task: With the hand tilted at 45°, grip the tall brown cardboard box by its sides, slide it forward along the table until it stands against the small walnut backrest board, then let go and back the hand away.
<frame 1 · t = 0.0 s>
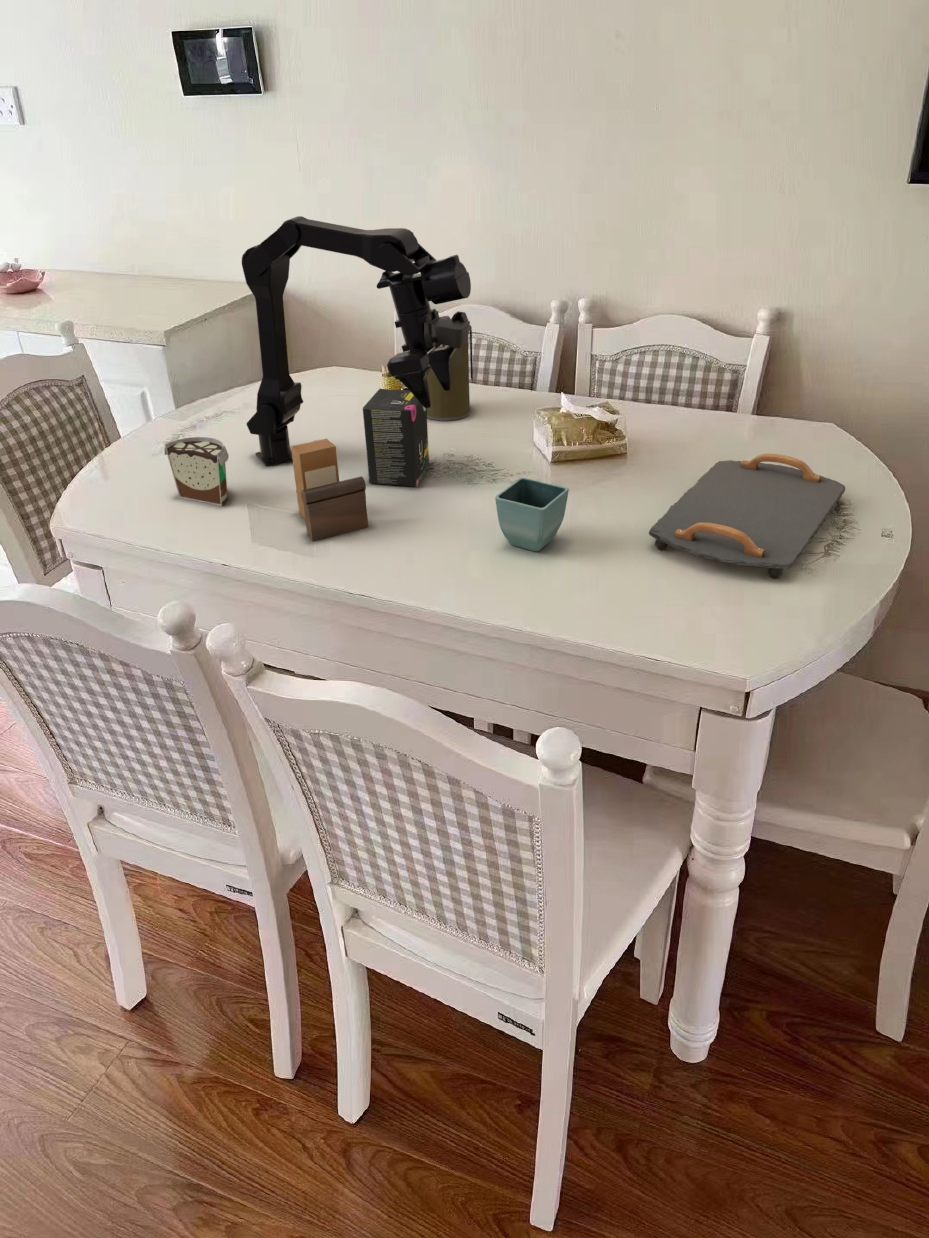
hand: (438, 398, 169), 15 cm above the table, tool pointing down, fingers open, 9 cm apart
backrest: (338, 531, 160), on the table
cardboard box: (321, 514, 166), on the table
flower pot: (531, 544, 155), on the table
canister: (447, 413, 207), on the table
serving tray: (748, 523, 160), on the table
food container: (211, 496, 174), on the table
tampon box: (400, 475, 180), on the table
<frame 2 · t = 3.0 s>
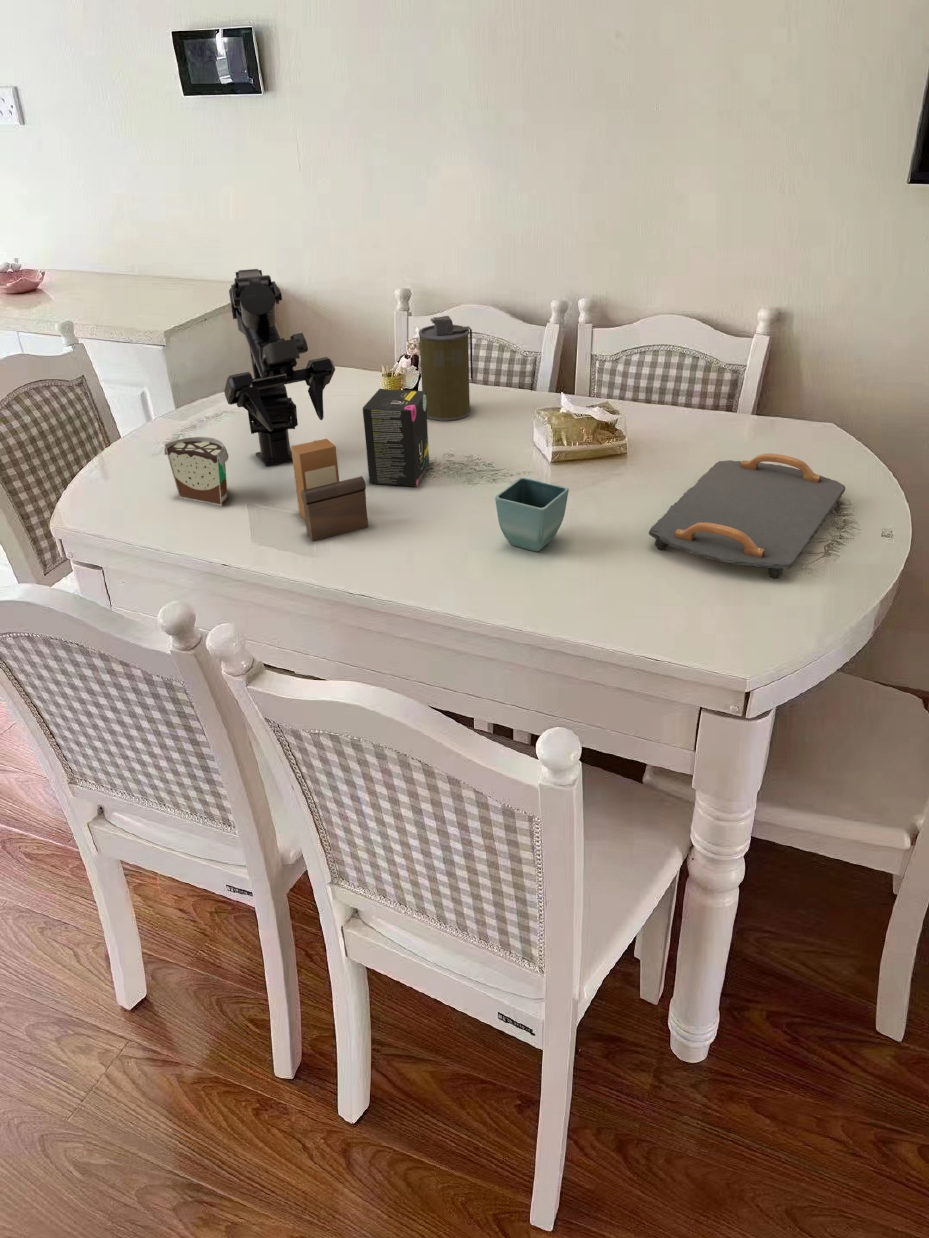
hand: (297, 424, 165), 14 cm above the table, tool tilted 45°, fingers open, 9 cm apart
nothing on the table moved.
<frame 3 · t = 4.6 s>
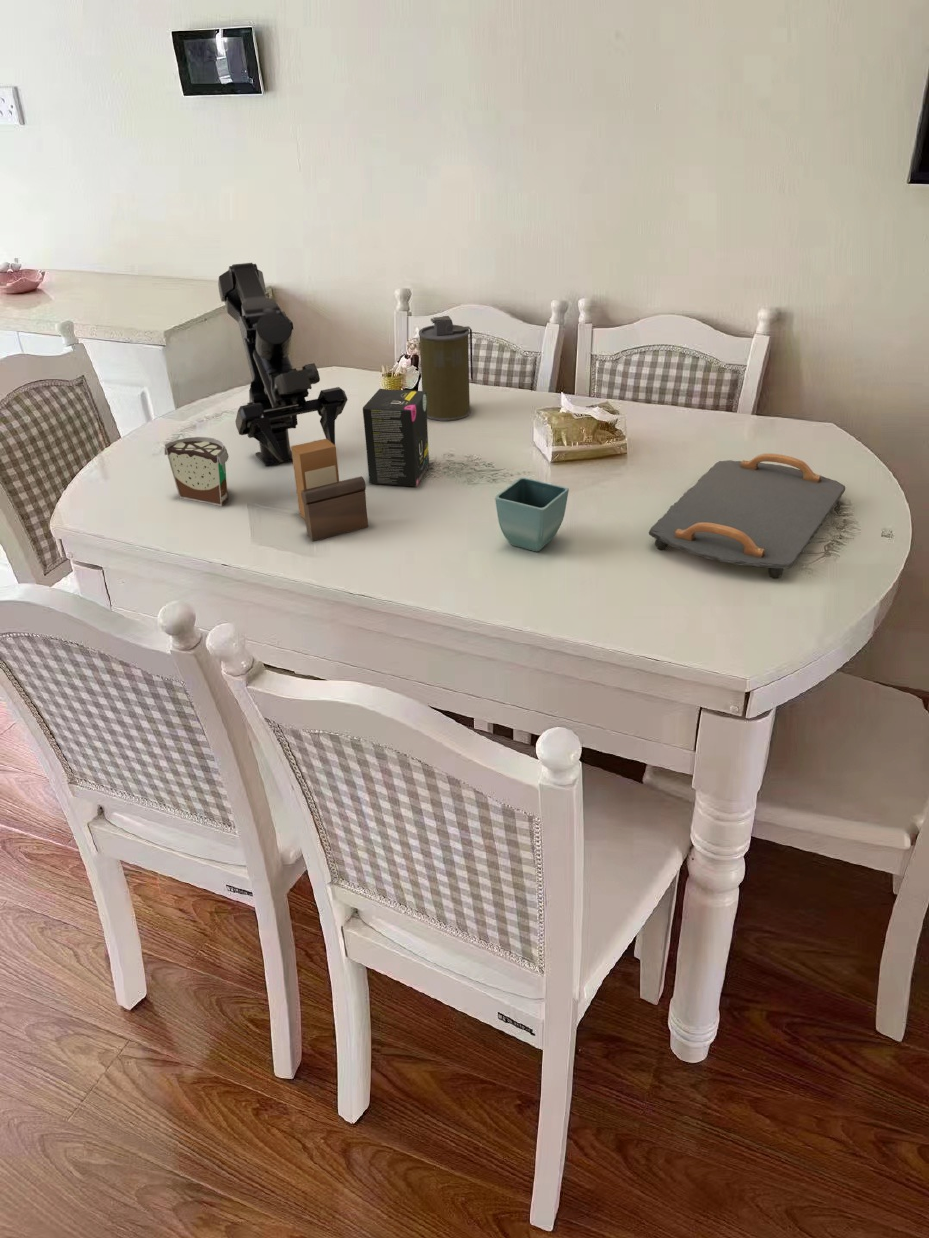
hand: (308, 455, 163), 10 cm above the table, tool tilted 45°, fingers open, 9 cm apart
nothing on the table moved.
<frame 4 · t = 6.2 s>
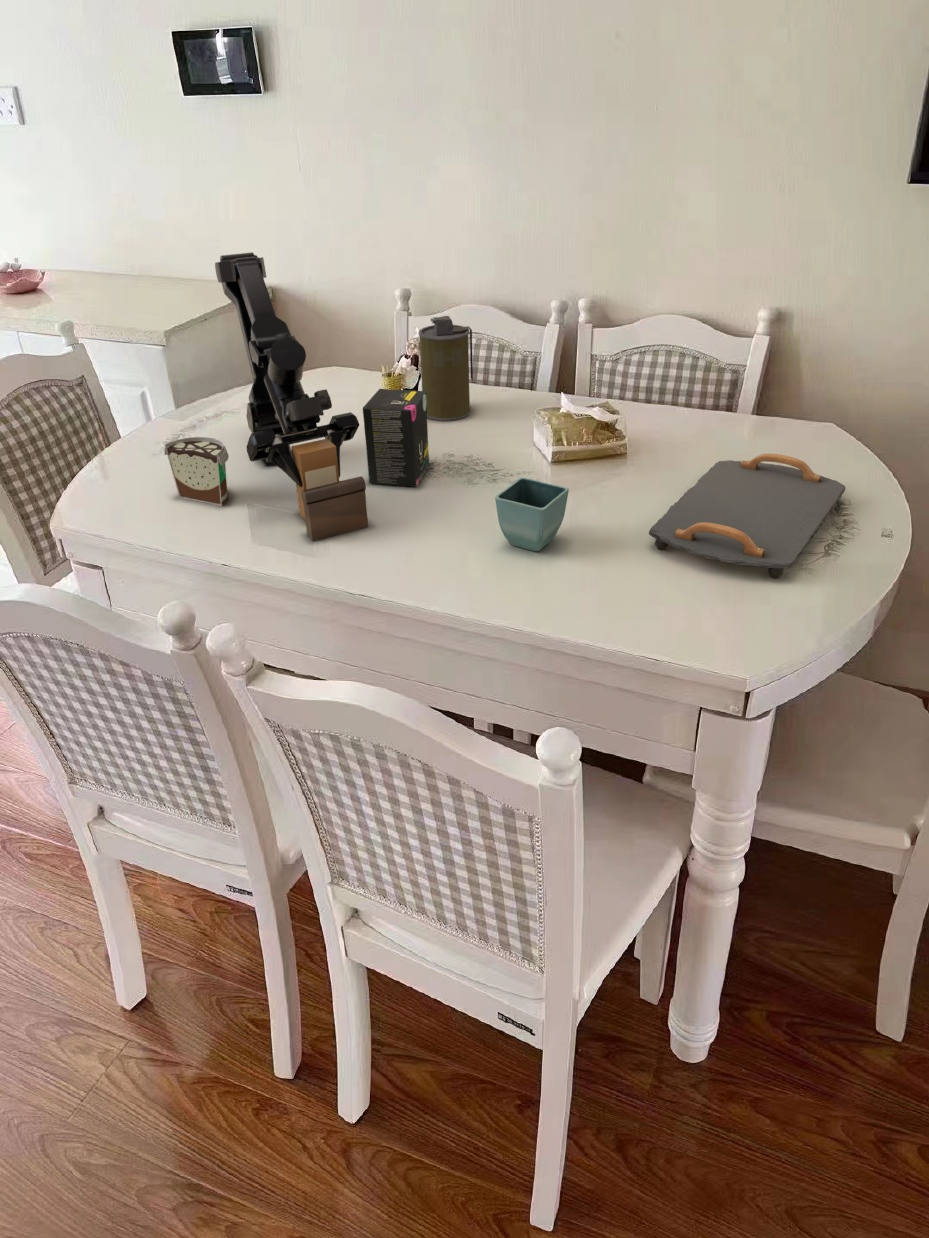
hand: (320, 481, 161), 7 cm above the table, tool tilted 45°, fingers closed on cardboard box, 6 cm apart
cardboard box: (321, 514, 166), on the table, touching gripper
everything else where it was.
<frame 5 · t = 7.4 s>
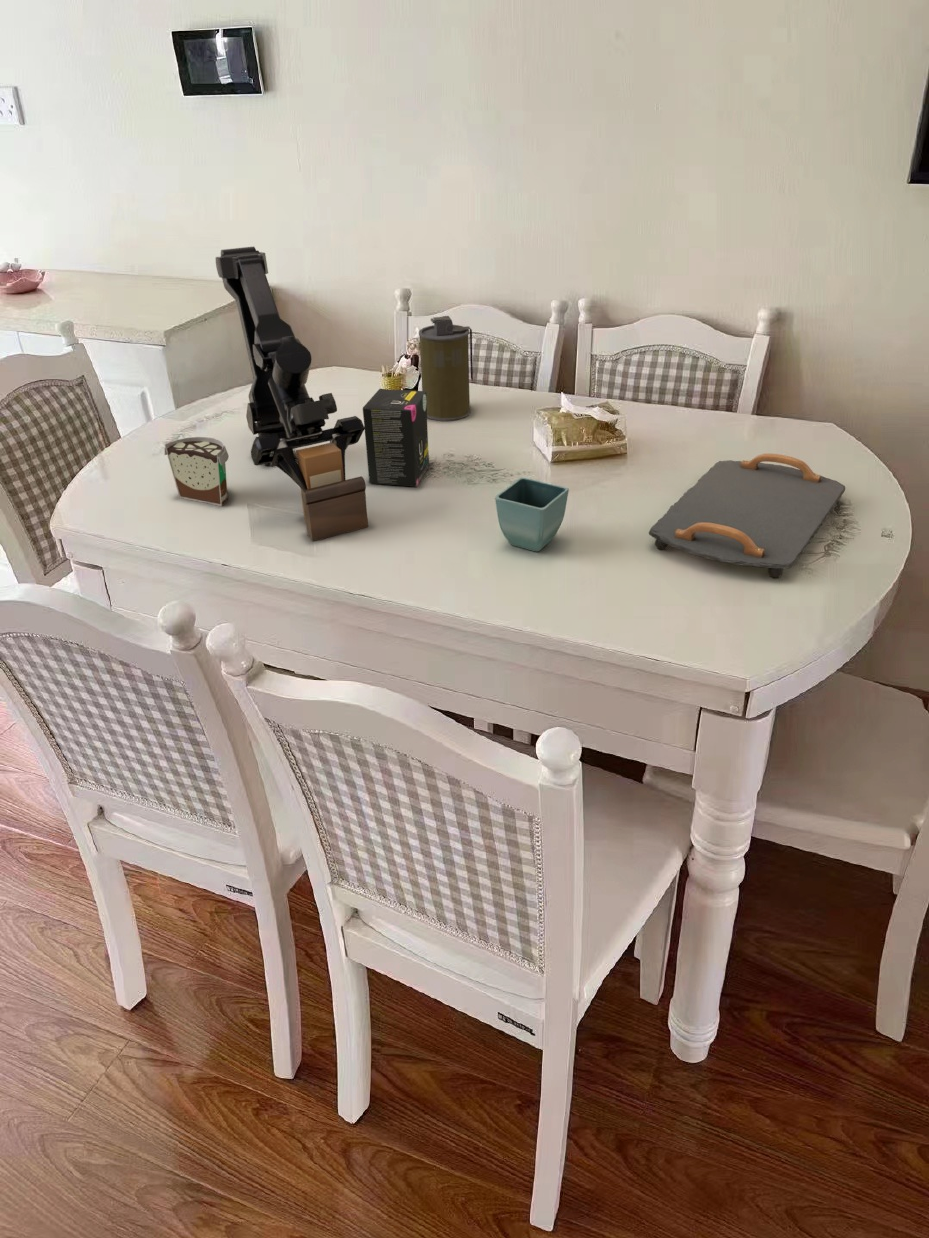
hand: (325, 486, 160), 7 cm above the table, tool tilted 45°, fingers closed on cardboard box, 6 cm apart
cardboard box: (326, 519, 164), on the table, touching gripper
everything else where it was.
when the fingers open (7 cm above the table, at t = 8.6 s): cardboard box stays where it is, on the table.
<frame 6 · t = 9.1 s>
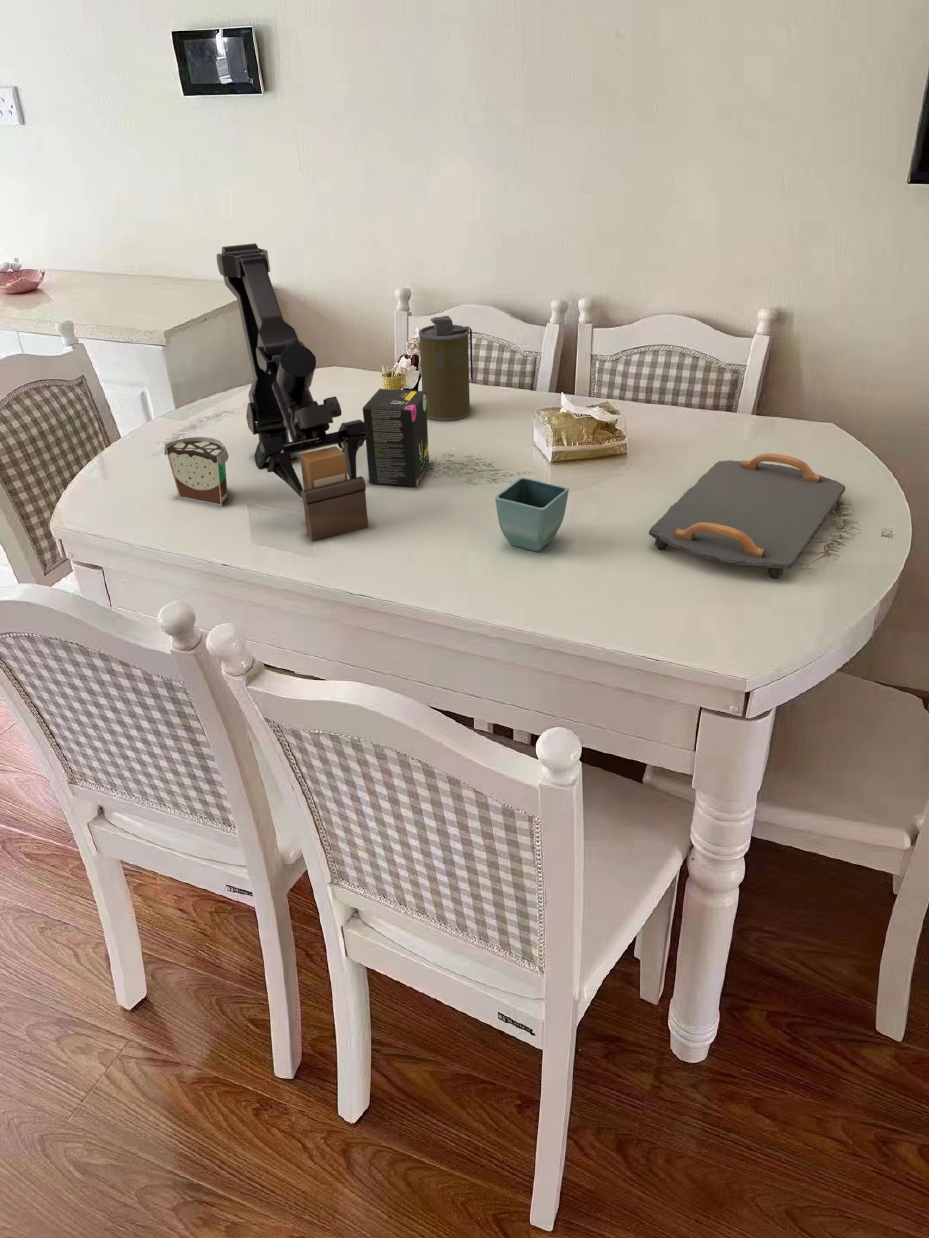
hand: (329, 490, 159), 7 cm above the table, tool tilted 45°, fingers open, 9 cm apart
cardboard box: (330, 523, 163), on the table
everything else where it was.
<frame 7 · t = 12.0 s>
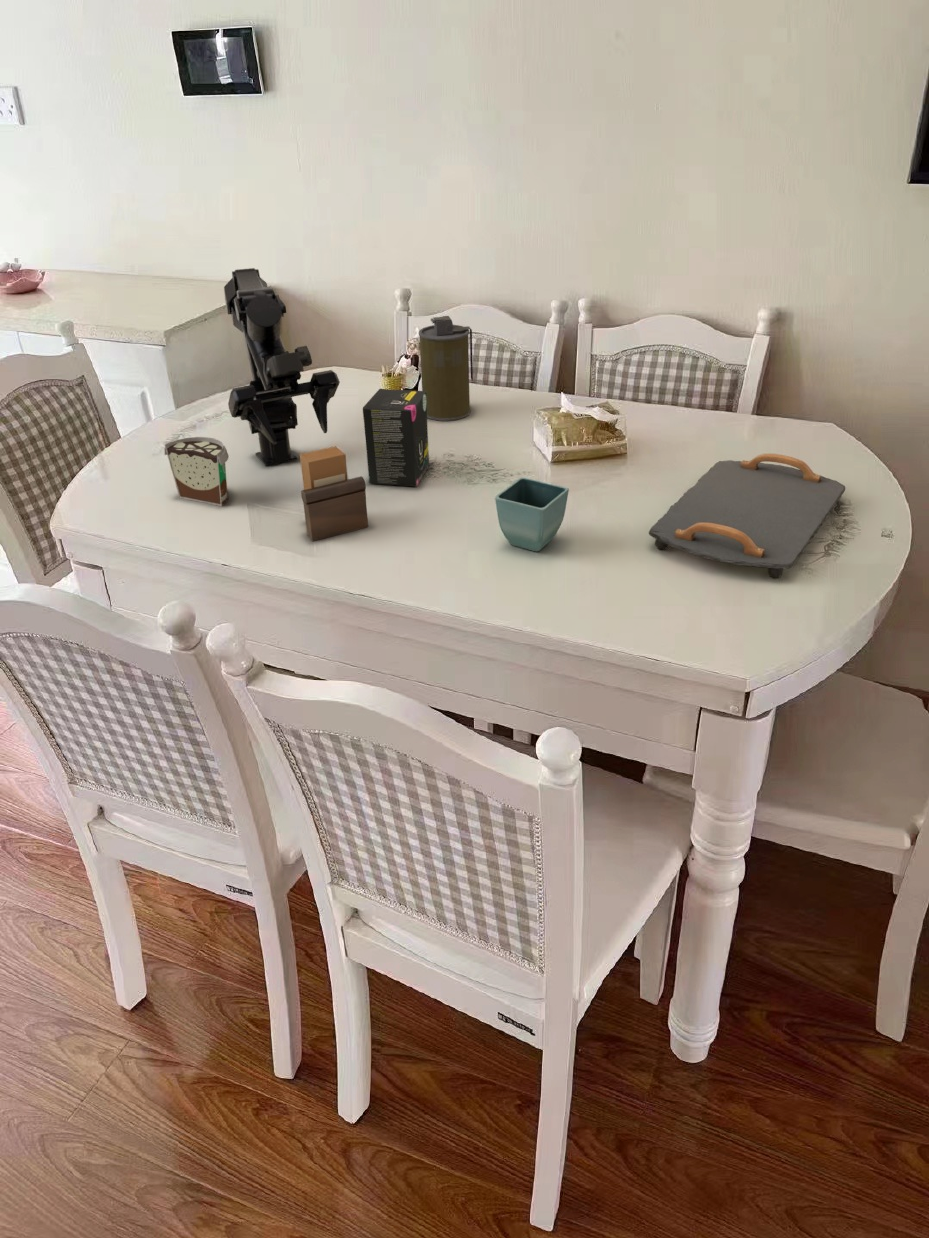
hand: (300, 437, 164), 12 cm above the table, tool tilted 45°, fingers open, 9 cm apart
nothing on the table moved.
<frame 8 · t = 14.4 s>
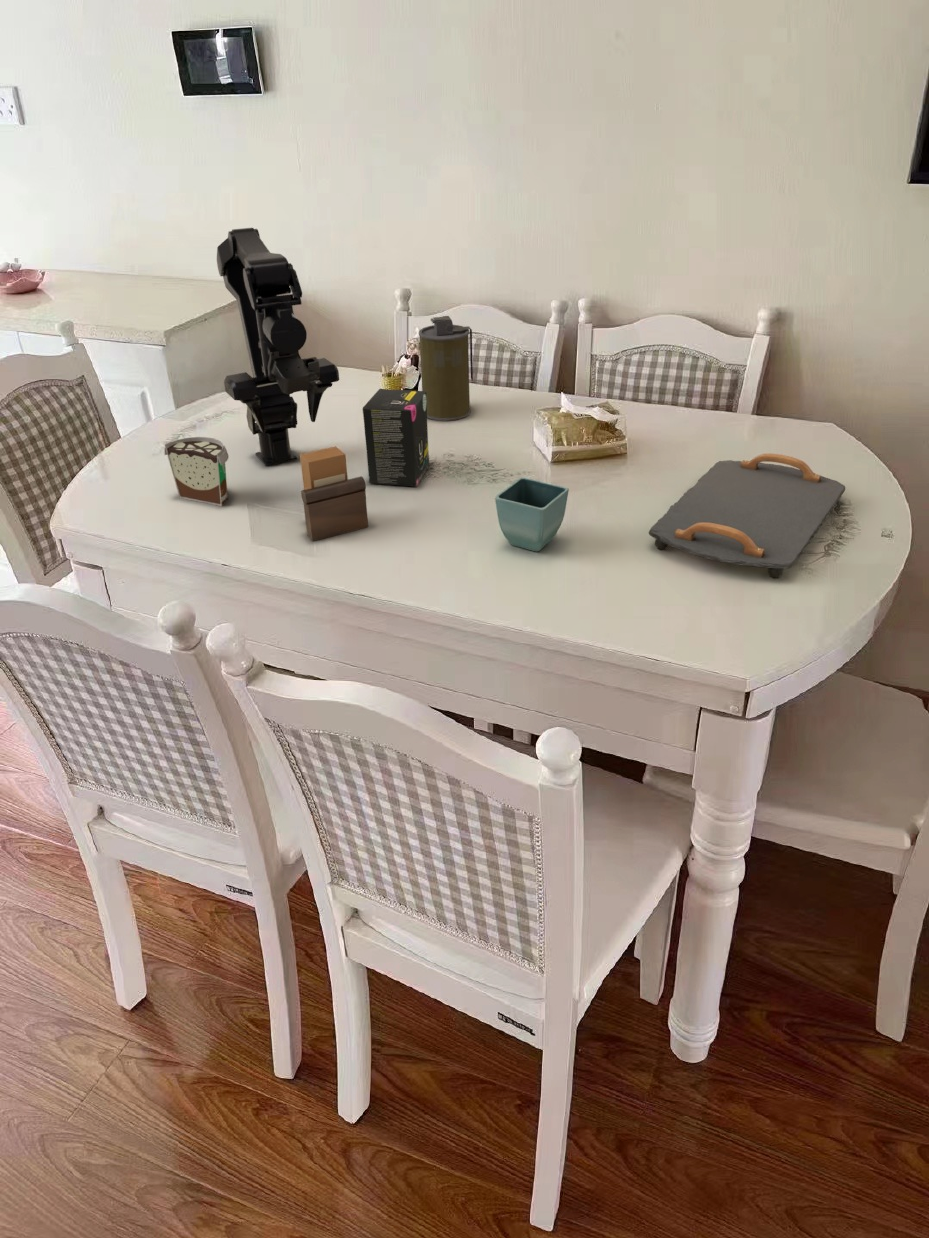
hand: (288, 426, 169), 12 cm above the table, tool pointing down, fingers open, 9 cm apart
nothing on the table moved.
at the end: cardboard box 3.5 cm from the backrest (horizontally); cardboard box tilted 0°; the gripper is holding nothing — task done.
